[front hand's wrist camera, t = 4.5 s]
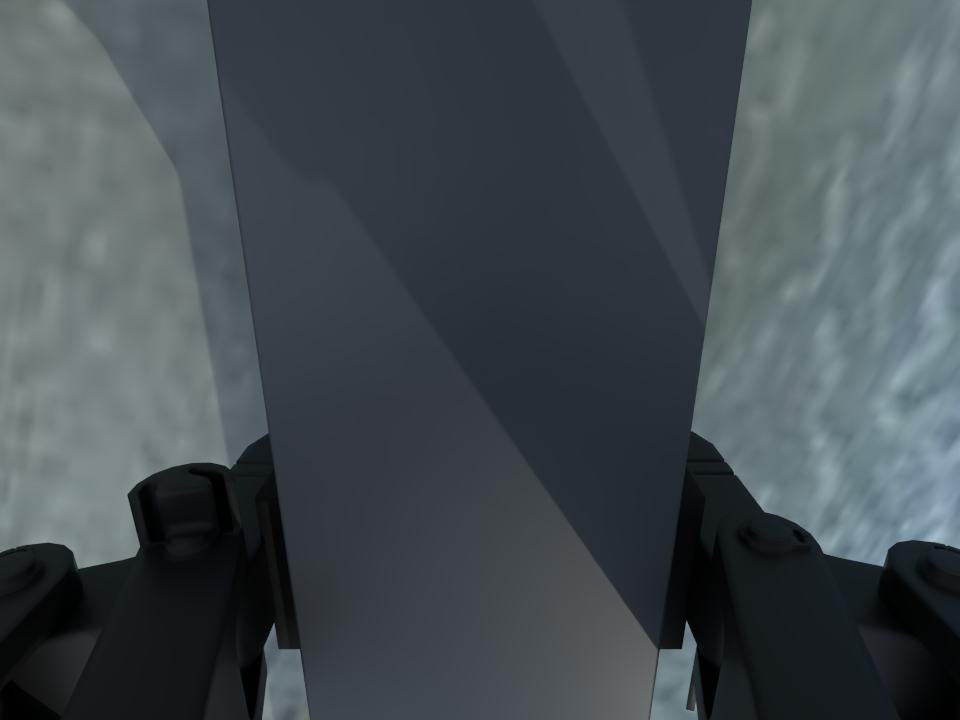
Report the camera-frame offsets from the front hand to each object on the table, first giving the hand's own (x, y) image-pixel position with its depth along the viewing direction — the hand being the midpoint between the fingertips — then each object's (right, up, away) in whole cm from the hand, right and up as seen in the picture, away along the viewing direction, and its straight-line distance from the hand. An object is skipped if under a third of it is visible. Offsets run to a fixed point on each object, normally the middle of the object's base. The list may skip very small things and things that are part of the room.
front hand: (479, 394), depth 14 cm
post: (0, -22, +9) cm, 24 cm away
